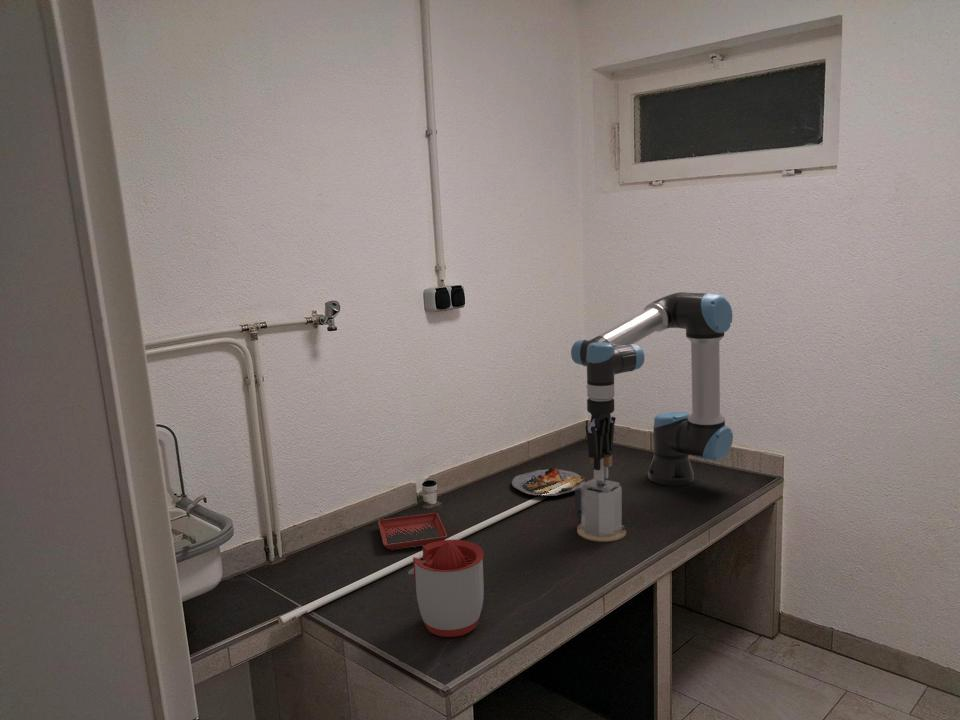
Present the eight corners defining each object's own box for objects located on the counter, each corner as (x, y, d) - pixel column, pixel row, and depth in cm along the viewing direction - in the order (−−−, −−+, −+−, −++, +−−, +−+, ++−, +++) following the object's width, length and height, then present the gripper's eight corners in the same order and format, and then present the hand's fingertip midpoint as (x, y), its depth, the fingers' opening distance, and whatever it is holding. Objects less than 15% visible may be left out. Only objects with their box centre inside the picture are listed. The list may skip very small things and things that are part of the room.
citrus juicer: (424, 602, 175) (420, 523, 171) (494, 611, 170) (491, 530, 166) (398, 637, 160) (393, 552, 157) (474, 648, 155) (471, 560, 152)
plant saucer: (384, 555, 202) (383, 544, 201) (378, 529, 219) (377, 519, 218) (448, 547, 206) (447, 536, 205) (437, 522, 223) (437, 512, 222)
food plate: (557, 469, 265) (557, 460, 264) (600, 488, 245) (599, 478, 245) (499, 486, 252) (499, 476, 252) (539, 507, 233) (539, 497, 232)
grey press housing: (589, 517, 221) (588, 471, 218) (634, 529, 212) (634, 481, 209) (564, 533, 210) (563, 485, 208) (611, 546, 201) (611, 496, 198)
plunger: (596, 511, 215) (596, 449, 211) (618, 516, 211) (617, 453, 207) (584, 518, 209) (583, 455, 206) (606, 524, 205) (605, 459, 202)
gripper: (602, 391, 212) (602, 468, 216) (574, 402, 200) (575, 483, 204) (625, 394, 207) (625, 473, 211) (599, 405, 196) (599, 489, 200)
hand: (601, 478), depth 208 cm, fingers closed on plunger, 2 cm apart
